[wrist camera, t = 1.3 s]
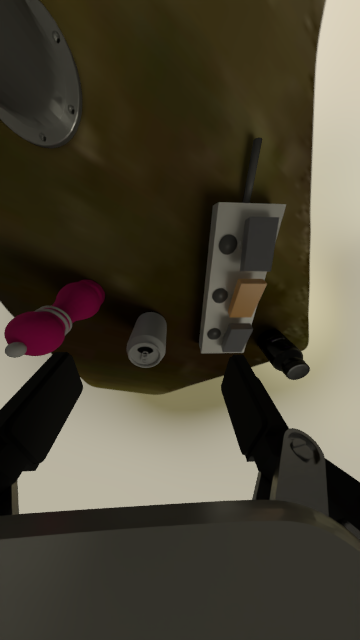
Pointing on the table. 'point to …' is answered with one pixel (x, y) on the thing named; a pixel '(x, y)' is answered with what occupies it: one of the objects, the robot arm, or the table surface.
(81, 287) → the pepper mill
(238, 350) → the block
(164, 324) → the can
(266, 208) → the power strip
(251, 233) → the block
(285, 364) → the supplement bottle
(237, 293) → the rocker
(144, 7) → the table surface
